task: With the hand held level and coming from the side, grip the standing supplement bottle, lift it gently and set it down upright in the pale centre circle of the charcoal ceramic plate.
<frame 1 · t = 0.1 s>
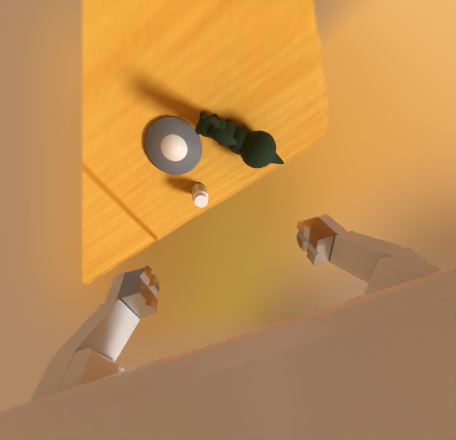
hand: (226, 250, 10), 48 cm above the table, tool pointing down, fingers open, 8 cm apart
supplement bottle: (198, 188, 59), on the table
charcoal plate: (174, 147, 50), on the table
toy figurine: (235, 137, 53), on the table
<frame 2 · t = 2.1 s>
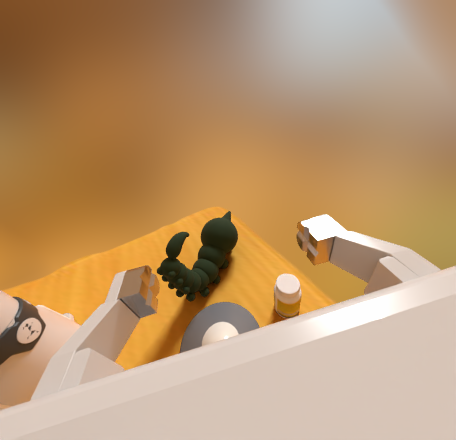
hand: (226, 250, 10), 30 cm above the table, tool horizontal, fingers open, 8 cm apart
supplement bottle: (286, 307, 37), on the table
charcoal plate: (221, 344, 33), on the table
toy figurine: (215, 267, 48), on the table
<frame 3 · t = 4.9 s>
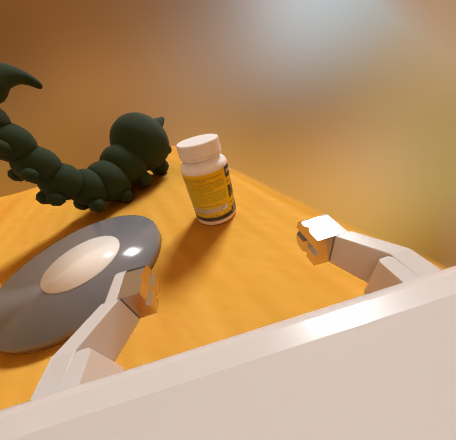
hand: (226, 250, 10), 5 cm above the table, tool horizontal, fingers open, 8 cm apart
supplement bottle: (217, 214, 22), on the table
charcoal plate: (88, 265, 18), on the table
toy figurine: (137, 190, 33), on the table
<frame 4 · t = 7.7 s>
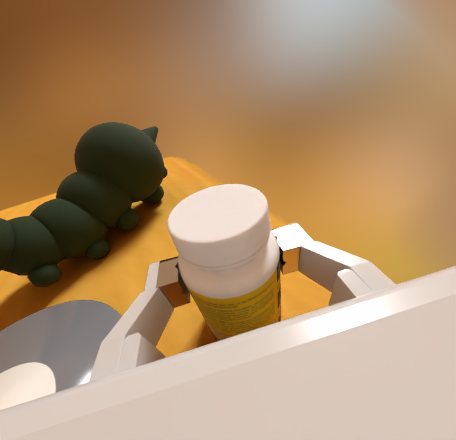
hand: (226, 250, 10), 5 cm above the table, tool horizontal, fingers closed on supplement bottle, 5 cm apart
supplement bottle: (244, 313, 12), on the table, touching gripper
toy figurine: (119, 230, 23), on the table
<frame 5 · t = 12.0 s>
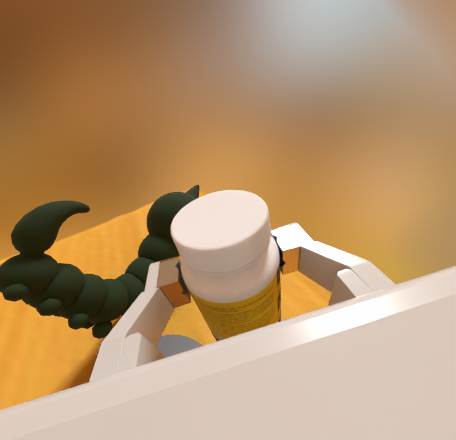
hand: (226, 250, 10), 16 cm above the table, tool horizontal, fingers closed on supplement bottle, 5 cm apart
supplement bottle: (244, 315, 12), point 10 cm above the table, touching gripper
charcoal plate: (149, 434, 16), on the table
toy figurine: (174, 271, 30), on the table
when the fingers open (7 cm above the table, at t = 16.1 s): supplement bottle stays where it is, resting on charcoal plate.
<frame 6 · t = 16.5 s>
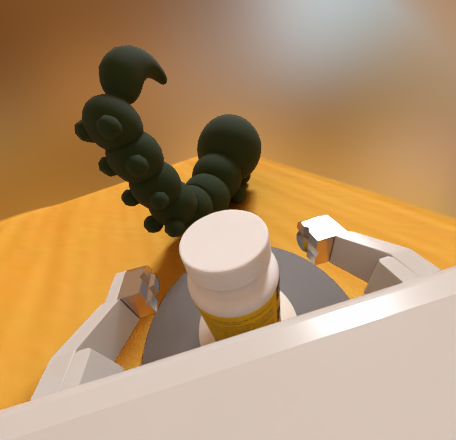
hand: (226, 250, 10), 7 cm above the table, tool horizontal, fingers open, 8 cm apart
supplement bottle: (246, 323, 13), point 1 cm above the table, touching charcoal plate
charcoal plate: (248, 326, 13), on the table
toy figurine: (223, 205, 28), on the table
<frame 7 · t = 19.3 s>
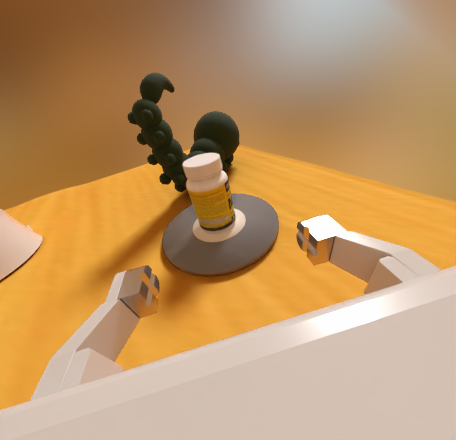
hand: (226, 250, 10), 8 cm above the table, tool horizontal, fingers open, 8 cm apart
supplement bottle: (218, 224, 24), point 1 cm above the table, touching charcoal plate
charcoal plate: (220, 227, 24), on the table
toy figurine: (212, 177, 39), on the table
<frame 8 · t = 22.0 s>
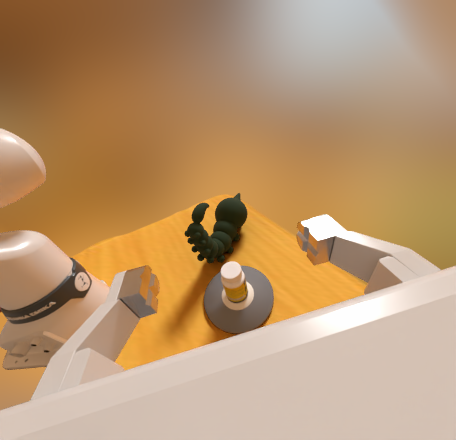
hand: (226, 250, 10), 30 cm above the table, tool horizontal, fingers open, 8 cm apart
supplement bottle: (237, 294, 39), point 1 cm above the table, touching charcoal plate
charcoal plate: (238, 295, 40), on the table
toy figurine: (228, 241, 54), on the table
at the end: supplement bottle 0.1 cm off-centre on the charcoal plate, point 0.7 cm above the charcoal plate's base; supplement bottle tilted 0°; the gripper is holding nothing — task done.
